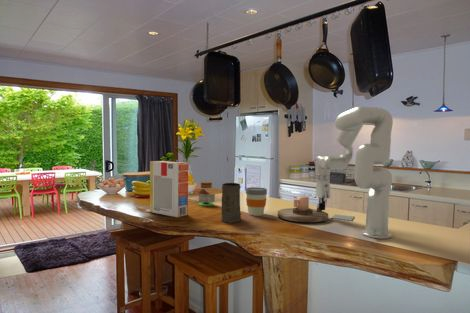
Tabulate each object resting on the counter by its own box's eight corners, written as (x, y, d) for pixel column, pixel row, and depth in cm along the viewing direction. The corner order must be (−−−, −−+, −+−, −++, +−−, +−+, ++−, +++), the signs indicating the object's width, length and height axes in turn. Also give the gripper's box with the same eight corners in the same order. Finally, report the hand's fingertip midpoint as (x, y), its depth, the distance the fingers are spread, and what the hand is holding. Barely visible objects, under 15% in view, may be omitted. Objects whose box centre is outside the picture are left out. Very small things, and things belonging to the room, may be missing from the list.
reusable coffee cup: (255, 217, 189) (255, 190, 189) (240, 213, 199) (241, 188, 198) (270, 214, 197) (271, 189, 197) (256, 210, 207) (256, 186, 206)
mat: (351, 221, 184) (351, 220, 184) (331, 218, 189) (331, 217, 189) (354, 217, 194) (354, 216, 194) (335, 215, 199) (335, 214, 199)
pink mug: (303, 211, 193) (303, 195, 193) (310, 213, 188) (311, 197, 187) (291, 212, 189) (291, 196, 189) (298, 214, 184) (298, 198, 183)
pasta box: (187, 214, 192) (188, 162, 191) (177, 217, 186) (178, 163, 184) (159, 209, 205) (160, 160, 204) (149, 211, 199) (150, 161, 197)
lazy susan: (329, 223, 173) (330, 211, 172) (275, 220, 178) (275, 208, 178) (326, 212, 200) (327, 202, 200) (279, 210, 206) (279, 199, 206)
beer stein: (238, 223, 173) (239, 185, 172) (218, 222, 175) (219, 184, 174) (244, 217, 188) (244, 182, 187) (225, 216, 190) (226, 181, 190)
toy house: (193, 203, 228) (193, 181, 227) (211, 202, 233) (211, 181, 232) (199, 206, 217) (199, 183, 216) (217, 205, 222) (217, 183, 222)
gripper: (334, 179, 182) (333, 212, 183) (324, 176, 197) (323, 207, 198) (321, 179, 181) (320, 212, 182) (311, 176, 196) (310, 207, 197)
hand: (321, 209), depth 190 cm, fingers closed
